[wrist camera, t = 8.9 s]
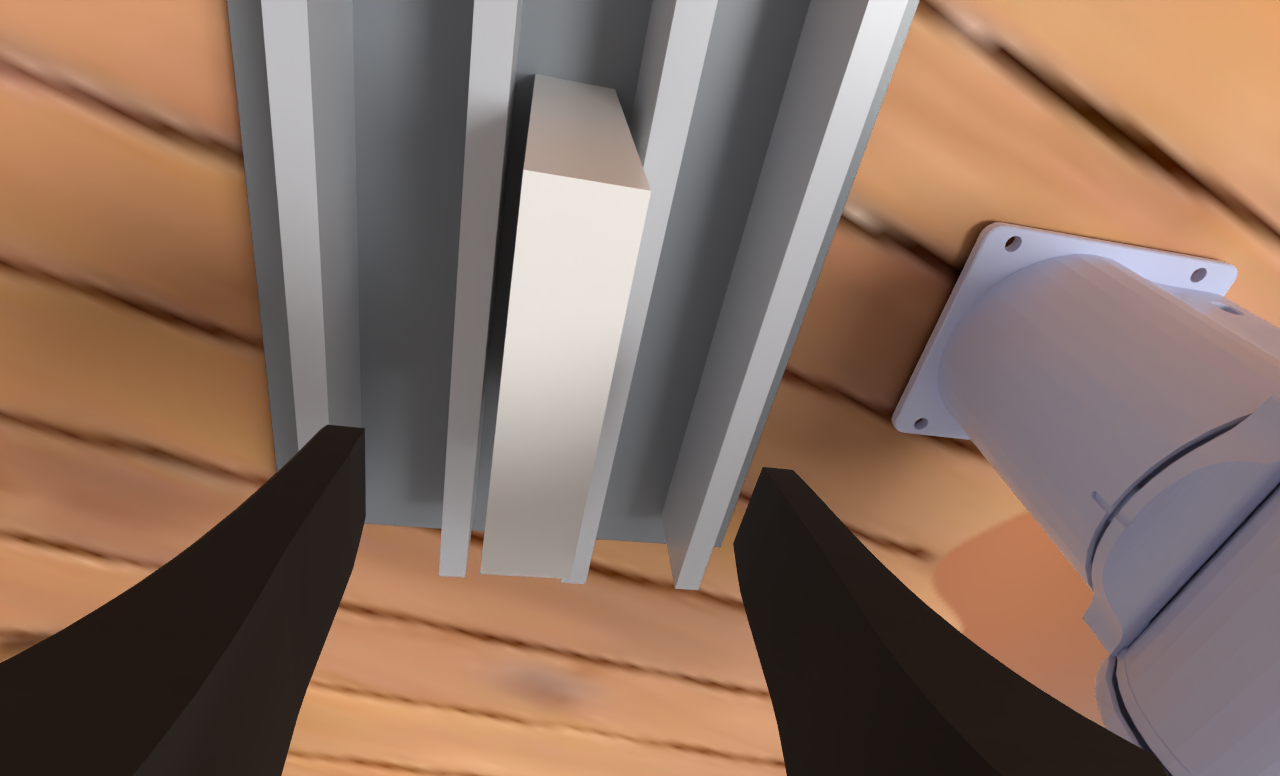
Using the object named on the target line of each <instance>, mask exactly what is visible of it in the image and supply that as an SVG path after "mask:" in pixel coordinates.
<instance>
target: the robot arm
mask: <svg viewBox="0 0 1280 776" xmlns="http://www.w3.org/2000/svg"><path fill="white" fill-rule="evenodd" d="M1013 236H1015V238H1014V241H1013V242H1012V244H1011V245H1009V246H1007V247H1005V244H1006V242H1007V241H1008V239H1009V238H1011V237H1013ZM1195 270H1197V271H1196V272H1195V273H1194V274H1193V272H1194V271H1195ZM1237 272H1238V270H1237V268H1236V267H1235V266H1233V265H1231V264H1229V263H1227V262H1225V261H1220V260H1214V259H1208V258H1203V257H1197V256H1191V255H1186V254H1180V253H1174V252H1168V251H1163V250H1157V249H1151V248H1145V247H1140V246H1134V245H1128V244H1123V243H1117V242H1111V241H1105V240H1100V239H1094V238H1088V237H1083V236H1077V235H1071V234H1065V233H1060V232H1054V231H1048V230H1043V229H1037V228H1031V227H1025V226H1020V225H1014V224H1008V223H1003V222H995V223H992V224H990V225H988V226H987V227H986V228H984V229H983V230H982V232H981V233H980V235H979V237H978V239H977V241H976V243H975V245H974V247H973V249H972V251H971V253H970V255H969V257H968V260H967V262H966V264H965V266H964V268H963V270H962V272H961V274H960V276H959V278H958V280H957V282H956V284H955V287H954V289H953V291H952V293H951V295H950V297H949V299H948V301H947V303H946V305H945V307H944V309H943V311H942V314H941V316H940V318H939V320H938V322H937V324H936V326H935V328H934V330H933V332H932V334H931V336H930V338H929V341H928V343H927V345H926V347H925V349H924V351H923V353H922V355H921V357H920V359H919V361H918V363H917V365H916V368H915V370H914V372H913V374H912V376H911V378H910V380H909V382H908V384H907V386H906V388H905V390H904V392H903V395H902V397H901V399H900V401H899V403H898V405H897V407H896V409H895V411H894V413H893V415H892V419H891V420H892V424H893V425H894V427H895V428H896V429H897V430H898V431H899V432H902V433H911V434H921V435H930V436H940V437H949V438H958V439H968V440H972V442H973V443H974V444H975V445H976V447H977V448H978V449H979V450H980V452H981V453H982V454H983V455H984V457H985V458H986V459H987V460H988V462H989V463H990V464H991V465H992V467H993V468H994V469H995V470H996V471H997V473H998V474H999V475H1000V476H1001V478H1002V479H1003V480H1004V481H1005V483H1006V484H1007V485H1008V486H1009V488H1010V489H1011V490H1012V491H1013V493H1014V494H1015V495H1016V496H1017V498H1018V499H1019V500H1020V501H1021V503H1022V504H1023V505H1024V506H1025V508H1026V509H1027V510H1028V511H1029V513H1030V514H1031V515H1032V516H1033V518H1034V519H1035V520H1036V521H1037V523H1038V524H1039V525H1040V526H1041V528H1042V529H1043V530H1044V531H1045V533H1046V534H1047V535H1048V536H1049V538H1050V539H1051V540H1052V541H1053V543H1054V544H1055V545H1056V546H1057V548H1058V549H1059V550H1060V551H1061V553H1062V554H1063V555H1064V556H1065V557H1066V559H1067V560H1068V561H1069V563H1070V564H1071V565H1072V566H1073V568H1074V569H1075V570H1076V571H1077V573H1078V574H1079V575H1080V576H1081V577H1082V579H1083V580H1084V581H1085V583H1086V584H1087V585H1088V586H1089V587H1090V589H1091V590H1092V591H1093V592H1094V595H1093V599H1092V602H1091V604H1090V606H1089V608H1088V609H1087V610H1086V612H1085V613H1084V615H1083V617H1082V618H1083V620H1084V621H1085V622H1086V624H1087V625H1088V626H1089V628H1090V629H1091V630H1092V631H1093V633H1094V634H1095V636H1096V637H1097V638H1098V639H1099V641H1100V642H1101V643H1102V645H1103V646H1104V647H1105V649H1106V650H1107V651H1108V653H1109V655H1108V656H1107V657H1106V658H1105V659H1104V661H1103V662H1102V663H1101V665H1100V668H1099V670H1098V672H1097V675H1096V683H1095V693H1096V700H1097V706H1098V709H1099V712H1100V715H1101V718H1102V720H1103V723H1104V726H1105V728H1103V727H1102V726H1100V725H1098V724H1097V723H1095V722H1093V721H1091V720H1089V719H1088V718H1086V717H1084V716H1082V715H1081V714H1079V713H1077V712H1076V711H1074V710H1073V709H1071V708H1069V707H1068V706H1066V705H1065V704H1063V703H1061V702H1060V701H1058V700H1057V699H1055V698H1053V697H1052V696H1050V695H1049V694H1047V693H1045V692H1043V691H1042V690H1040V689H1039V688H1037V687H1036V686H1034V685H1033V684H1031V683H1030V682H1028V681H1027V680H1025V679H1024V678H1022V677H1021V676H1019V675H1018V674H1016V673H1015V672H1013V671H1012V670H1011V669H1009V668H1008V667H1006V666H1005V665H1004V664H1002V663H1001V662H1000V661H998V660H997V659H995V658H994V657H993V656H991V655H990V654H988V653H987V652H986V651H984V650H983V649H981V648H980V647H979V646H977V645H976V644H975V643H973V642H972V641H971V640H969V639H968V638H967V637H966V636H964V635H963V634H962V633H960V632H959V631H958V630H957V629H955V628H954V627H953V626H952V625H951V624H949V623H948V622H947V621H946V620H944V619H943V618H942V617H941V616H940V615H938V614H937V613H936V612H935V611H934V610H932V609H931V608H930V607H929V606H927V605H926V604H925V603H924V602H923V601H922V600H921V599H920V598H918V597H917V596H916V595H915V594H914V593H913V592H912V591H911V590H909V589H908V588H907V587H906V586H905V585H904V584H903V583H902V582H901V581H900V580H899V579H898V578H897V577H896V576H895V575H894V574H893V573H891V572H890V571H889V570H888V569H887V568H886V567H885V566H884V565H883V564H882V563H881V562H880V561H879V560H878V559H877V558H876V557H875V556H874V555H873V554H872V553H871V552H870V551H869V550H868V549H867V548H866V547H865V546H864V545H863V544H862V543H861V542H860V541H859V540H858V539H857V537H856V536H855V535H854V534H853V533H852V532H851V531H850V530H849V529H848V528H847V527H846V526H845V525H844V524H843V523H842V522H841V521H840V519H839V518H838V517H837V516H836V515H835V514H834V513H833V512H832V511H831V510H830V509H829V508H828V506H827V505H826V504H825V503H824V502H823V501H822V500H821V499H820V498H819V497H818V496H817V495H816V493H815V492H814V491H813V490H812V489H811V488H810V487H809V486H808V485H807V484H806V483H805V482H804V481H803V480H802V479H801V478H800V477H799V476H798V475H797V474H796V473H795V472H794V471H793V470H787V469H777V468H767V467H763V468H762V471H761V473H760V476H759V478H758V481H757V483H756V486H755V489H754V491H753V494H752V496H751V499H750V502H749V504H748V507H747V509H746V512H745V515H744V517H743V520H742V522H741V525H740V528H739V530H738V533H737V535H736V538H735V541H734V543H733V545H734V552H735V560H736V567H737V574H738V580H739V586H740V592H741V596H742V600H743V604H744V607H745V611H746V614H747V618H748V621H749V625H750V628H751V632H752V635H753V639H754V642H755V645H756V649H757V652H758V656H759V659H760V663H761V666H762V669H763V673H764V676H765V680H766V683H767V687H768V690H769V693H770V697H771V700H772V704H773V708H774V712H775V716H776V720H777V724H778V729H779V735H780V740H781V745H782V751H783V756H784V762H785V767H786V773H787V776H1280V328H1278V327H1276V326H1274V325H1272V324H1271V323H1269V322H1267V321H1265V320H1264V319H1262V318H1260V317H1258V316H1256V315H1255V314H1253V313H1251V312H1249V311H1248V310H1246V309H1244V308H1242V307H1241V306H1239V305H1237V304H1235V303H1233V302H1232V301H1230V300H1228V299H1226V298H1225V297H1224V295H1225V294H1226V292H1227V291H1228V290H1229V288H1230V287H1231V285H1232V284H1233V283H1234V281H1235V279H1236V277H1237ZM1192 274H1193V275H1192ZM1191 275H1192V276H1191ZM920 418H923V419H922V420H921V421H920V422H918V423H915V422H916V421H917V420H918V419H920ZM365 518H366V478H365V428H358V427H348V426H337V425H326V426H324V427H323V428H321V429H320V430H319V431H318V432H317V433H316V434H315V435H314V436H313V437H312V438H311V439H310V440H309V441H308V442H307V443H306V444H305V445H304V446H303V447H302V448H301V449H300V450H299V451H298V452H297V453H296V454H295V455H294V456H293V457H292V458H291V459H290V460H289V461H288V462H287V463H286V464H285V465H284V466H283V467H282V468H281V469H280V470H279V471H278V472H277V473H276V474H275V475H274V476H273V477H271V478H270V479H269V480H268V481H267V482H266V483H265V484H264V485H263V486H261V487H260V488H259V489H258V490H257V491H256V492H255V493H254V494H253V495H251V496H250V497H249V498H248V499H247V500H246V501H245V502H244V503H243V504H241V505H240V506H239V507H238V508H237V509H236V510H234V511H233V512H232V513H231V514H229V515H228V516H227V517H226V518H225V519H223V520H222V521H221V522H220V523H218V524H217V525H216V526H215V527H213V528H212V529H211V530H210V531H209V532H207V533H206V534H205V535H204V536H202V537H201V538H200V539H199V540H197V541H196V542H195V543H194V544H192V545H191V546H190V547H188V548H187V549H186V550H184V551H183V552H182V553H180V554H179V555H178V556H176V557H175V558H173V559H172V560H171V561H169V562H168V563H166V564H165V565H164V566H162V567H161V568H159V569H158V570H156V571H155V572H154V573H152V574H151V575H149V576H148V577H146V578H145V579H143V580H142V581H141V582H139V583H138V584H136V585H135V586H133V587H132V588H130V589H128V590H127V591H125V592H124V593H122V594H120V595H119V596H117V597H116V598H114V599H113V600H111V601H109V602H108V603H106V604H105V605H103V606H101V607H100V608H98V609H96V610H95V611H93V612H91V613H90V614H88V615H87V616H85V617H83V618H82V619H80V620H78V621H77V622H75V623H73V624H72V625H70V626H68V627H67V628H65V629H63V630H61V631H60V632H58V633H56V634H54V635H53V636H51V637H49V638H47V639H45V640H43V641H41V642H40V643H38V644H36V645H34V646H32V647H30V648H29V649H27V650H25V651H23V652H21V653H19V654H17V655H16V656H14V657H12V658H10V659H8V660H6V661H4V662H2V663H0V776H281V775H282V771H283V767H284V764H285V760H286V757H287V753H288V749H289V746H290V742H291V739H292V735H293V731H294V728H295V724H296V720H297V717H298V714H299V711H300V708H301V705H302V702H303V699H304V696H305V693H306V690H307V687H308V684H309V682H310V679H311V677H312V674H313V672H314V669H315V666H316V664H317V661H318V659H319V656H320V653H321V651H322V648H323V646H324V643H325V640H326V638H327V635H328V633H329V630H330V628H331V625H332V622H333V620H334V617H335V615H336V612H337V609H338V607H339V604H340V601H341V599H342V596H343V594H344V591H345V588H346V586H347V583H348V580H349V578H350V575H351V572H352V570H353V566H354V562H355V558H356V554H357V550H358V547H359V542H360V538H361V534H362V530H363V526H364V522H365Z"/></svg>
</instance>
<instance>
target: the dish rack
mask: <svg viewBox="0 0 1280 776" xmlns="http://www.w3.org/2000/svg"><path fill="white" fill-rule="evenodd" d="M918 3H919V0H227V6H228V16H229V25H230V35H231V44H232V53H233V63H234V72H235V82H236V91H237V100H238V110H239V119H240V129H241V138H242V147H243V157H244V166H245V176H246V185H247V194H248V204H249V213H250V223H251V232H252V241H253V251H254V260H255V270H256V279H257V288H258V298H259V307H260V317H261V326H262V335H263V345H264V354H265V364H266V373H267V382H268V392H269V401H270V411H271V420H272V429H273V439H274V448H275V458H276V467H277V472H278V471H279V470H280V469H281V468H282V467H283V466H284V465H285V464H286V463H287V462H288V461H289V460H290V459H291V458H292V457H293V456H294V455H295V454H296V453H297V452H298V451H299V450H300V449H301V448H302V447H303V446H304V445H305V444H306V443H307V442H308V441H309V440H310V439H311V438H312V437H313V436H314V435H315V434H316V433H317V432H318V431H319V430H320V429H321V428H323V427H324V426H326V425H337V426H348V427H358V428H365V478H366V518H365V522H364V524H379V525H394V526H409V527H424V528H439V529H442V532H441V548H440V564H439V576H449V577H465V575H466V567H467V560H468V553H469V545H470V538H471V531H484V532H485V523H486V514H487V505H488V495H489V486H490V477H491V467H492V458H493V449H494V439H495V430H496V421H497V412H498V402H499V393H500V384H501V374H502V365H503V356H504V346H505V337H506V328H507V318H508V309H509V300H510V290H511V281H512V272H513V262H514V253H515V244H516V234H517V225H518V216H519V206H520V197H521V188H522V178H523V169H524V161H525V153H526V145H527V137H528V129H529V121H530V113H531V106H532V98H533V90H534V82H535V74H538V75H544V76H549V77H554V78H559V79H564V80H569V81H575V82H580V83H585V84H590V85H595V86H601V87H606V88H611V89H615V91H616V93H617V96H618V99H619V102H620V105H621V107H622V110H623V113H624V116H625V119H626V121H627V124H628V127H629V130H630V133H631V136H632V138H633V141H634V144H635V147H636V150H637V152H638V155H639V158H640V161H641V164H642V166H643V169H644V172H645V175H646V178H647V180H648V183H649V186H650V189H651V195H650V199H649V204H648V209H647V214H646V219H645V223H644V228H643V233H642V238H641V243H640V247H639V252H638V257H637V262H636V266H635V271H634V276H633V281H632V286H631V290H630V295H629V300H628V305H627V310H626V314H625V319H624V324H623V329H622V334H621V338H620V343H619V348H618V353H617V357H616V362H615V367H614V372H613V377H612V381H611V386H610V391H609V396H608V401H607V405H606V410H605V415H604V420H603V425H602V429H601V434H600V439H599V444H598V448H597V453H596V458H595V463H594V468H593V472H592V477H591V482H590V487H589V492H588V496H587V501H586V506H585V511H584V516H583V520H582V525H581V530H580V535H579V539H578V544H577V549H576V554H575V559H574V563H573V568H572V573H571V578H570V579H561V583H578V584H585V583H586V579H587V575H588V570H589V566H590V561H591V557H592V553H593V548H594V544H595V539H603V540H618V541H633V542H648V543H663V544H667V547H668V553H669V558H670V564H671V569H672V575H673V580H674V586H675V589H689V590H698V589H699V586H700V583H701V581H702V578H703V575H704V572H705V569H706V567H707V564H708V561H709V558H710V555H711V553H712V550H713V547H721V544H722V541H723V539H724V536H725V533H726V530H727V528H728V525H729V522H730V519H731V517H732V514H733V511H734V508H735V506H736V503H737V500H738V497H739V495H740V492H741V489H742V486H743V484H744V481H745V478H746V475H747V473H748V470H749V467H750V464H751V462H752V459H753V456H754V453H755V451H756V448H757V445H758V442H759V440H760V437H761V434H762V431H763V429H764V426H765V423H766V420H767V418H768V415H769V412H770V409H771V407H772V404H773V401H774V398H775V396H776V393H777V390H778V387H779V385H780V382H781V379H782V376H783V374H784V371H785V368H786V365H787V363H788V360H789V357H790V354H791V352H792V349H793V346H794V344H795V341H796V338H797V335H798V333H799V330H800V327H801V324H802V322H803V319H804V316H805V313H806V311H807V308H808V305H809V302H810V300H811V297H812V294H813V291H814V289H815V286H816V283H817V280H818V278H819V275H820V272H821V269H822V267H823V264H824V261H825V258H826V256H827V253H828V250H829V247H830V245H831V242H832V239H833V236H834V234H835V231H836V228H837V225H838V223H839V220H840V217H841V214H842V212H843V209H844V206H845V203H846V201H847V198H848V195H849V192H850V190H851V187H852V184H853V181H854V179H855V176H856V173H857V170H858V168H859V165H860V162H861V159H862V157H863V154H864V151H865V148H866V146H867V143H868V140H869V137H870V135H871V132H872V129H873V126H874V124H875V121H876V118H877V116H878V113H879V110H880V107H881V105H882V102H883V99H884V96H885V94H886V91H887V88H888V85H889V83H890V80H891V77H892V74H893V72H894V69H895V66H896V63H897V61H898V58H899V55H900V52H901V50H902V47H903V44H904V41H905V39H906V36H907V33H908V30H909V28H910V25H911V22H912V19H913V17H914V14H915V11H916V8H917V6H918Z"/></svg>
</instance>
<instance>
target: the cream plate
mask: <svg viewBox="0 0 1280 776" xmlns="http://www.w3.org/2000/svg"><path fill="white" fill-rule="evenodd" d="M650 195H651V189H650V186H649V183H648V180H647V178H646V175H645V172H644V169H643V166H642V164H641V161H640V158H639V155H638V152H637V150H636V147H635V144H634V141H633V138H632V136H631V133H630V130H629V127H628V124H627V121H626V119H625V116H624V113H623V110H622V107H621V105H620V102H619V99H618V96H617V93H616V91H615V89H611V88H606V87H601V86H595V85H590V84H585V83H580V82H575V81H569V80H564V79H559V78H554V77H549V76H544V75H538V74H535V82H534V90H533V98H532V106H531V113H530V121H529V129H528V137H527V145H526V153H525V161H524V169H523V178H522V188H521V197H520V206H519V216H518V225H517V234H516V244H515V253H514V262H513V272H512V281H511V290H510V300H509V309H508V318H507V328H506V337H505V346H504V356H503V365H502V374H501V384H500V393H499V402H498V412H497V421H496V430H495V439H494V449H493V458H492V467H491V477H490V486H489V495H488V505H487V514H486V523H485V533H484V542H483V551H482V561H481V570H480V574H488V575H506V576H524V577H542V578H560V579H570V578H571V573H572V568H573V563H574V559H575V554H576V549H577V544H578V539H579V535H580V530H581V525H582V520H583V516H584V511H585V506H586V501H587V496H588V492H589V487H590V482H591V477H592V472H593V468H594V463H595V458H596V453H597V448H598V444H599V439H600V434H601V429H602V425H603V420H604V415H605V410H606V405H607V401H608V396H609V391H610V386H611V381H612V377H613V372H614V367H615V362H616V357H617V353H618V348H619V343H620V338H621V334H622V329H623V324H624V319H625V314H626V310H627V305H628V300H629V295H630V290H631V286H632V281H633V276H634V271H635V266H636V262H637V257H638V252H639V247H640V243H641V238H642V233H643V228H644V223H645V219H646V214H647V209H648V204H649V199H650Z"/></svg>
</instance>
